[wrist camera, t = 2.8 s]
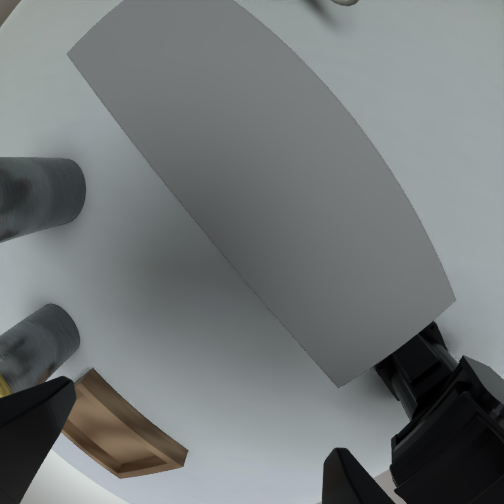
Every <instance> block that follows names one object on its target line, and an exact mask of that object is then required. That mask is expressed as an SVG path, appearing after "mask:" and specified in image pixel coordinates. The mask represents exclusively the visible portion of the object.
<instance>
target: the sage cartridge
mask: <svg viewBox="0 0 504 504" xmlns="http://www.w3.org/2000/svg"><path fill="white" fill-rule="evenodd" d="M85 193H86V187H85V179H84V176H83V173H82V171H81V169H80V167H79V166H78V165H77V164H76V163H75V162H74V161H72V160H70V159H64V158H36V157H0V243H2V242H5V241H8V240H11V239H14V238H17V237H20V236H24V235H27V234H30V233H34V232H37V231H41V230H44V229H48V228H51V227H55V226H58V225H62V224H66V223H69V222H71V221H73V220H74V219H75V218H76V217H77V216H78V214H79V213H80V211H81V209H82V207H83V204H84V200H85Z"/></svg>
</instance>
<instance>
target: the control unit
mask: <svg viewBox="0 0 504 504" xmlns="http://www.w3.org/2000/svg"><path fill="white" fill-rule="evenodd" d="M67 55H68V57H69V58H70V59H71V61H72V62H73V64H74V65H75V66H76V68H77V69H78V71H79V72H80V73H81V75H82V76H83V77H84V79H85V80H86V81H87V83H88V84H89V86H90V87H91V88H92V90H93V91H94V92H95V94H96V95H97V96H98V98H99V99H100V100H101V102H102V103H103V104H104V106H105V107H106V108H107V110H108V111H109V112H110V114H111V115H112V116H113V118H114V119H115V120H116V122H117V123H118V124H119V125H120V127H121V128H122V129H123V131H124V132H125V133H126V135H127V136H128V137H129V138H130V140H131V141H132V142H133V144H134V145H135V146H136V148H137V149H138V150H139V151H140V153H141V154H142V155H143V157H144V158H145V159H146V160H147V162H148V163H149V164H150V165H151V167H152V168H153V169H154V171H155V172H156V173H157V174H158V176H159V177H160V178H161V179H162V181H163V182H164V183H165V184H166V186H167V187H168V188H169V189H170V191H171V192H172V193H173V194H174V196H175V197H176V198H177V199H178V201H179V202H180V203H181V204H182V206H183V207H184V208H185V209H186V211H187V212H188V213H189V214H190V215H191V217H192V218H193V219H194V220H195V222H196V223H197V224H198V225H199V227H200V228H201V229H202V230H203V231H204V233H205V234H206V235H207V236H208V238H209V239H210V240H211V241H212V242H213V244H214V245H215V246H216V247H217V248H218V250H219V251H220V252H221V253H222V254H223V256H224V257H225V258H226V259H227V260H228V262H229V263H230V264H231V265H232V266H233V268H234V269H235V270H236V271H237V272H238V274H239V275H240V276H241V277H242V278H243V280H244V281H245V282H246V283H247V284H248V285H249V287H250V288H251V289H252V290H253V291H254V292H255V294H256V295H257V296H258V297H259V298H260V300H261V301H262V302H263V303H264V304H265V305H266V307H267V308H268V309H269V310H270V311H271V312H272V314H273V315H274V316H275V317H276V318H277V319H278V320H279V322H280V323H281V324H282V325H283V326H284V327H285V329H286V330H287V331H288V332H289V333H290V334H291V335H292V337H293V338H294V339H295V340H296V341H297V342H298V343H299V345H300V346H301V347H302V348H303V349H304V350H305V351H306V352H307V354H308V355H309V356H310V357H311V358H312V359H313V360H314V362H315V363H316V364H317V365H318V366H319V367H320V368H321V369H322V370H323V372H324V373H325V374H326V375H327V376H328V377H329V378H330V379H331V380H332V382H333V383H334V384H335V385H336V386H337V387H338V388H340V387H341V386H343V385H345V384H346V383H348V382H350V381H351V380H353V379H354V378H356V377H358V376H359V375H361V374H362V373H364V372H365V371H367V370H368V369H370V368H371V367H373V366H374V365H376V364H377V363H379V362H380V361H382V360H383V359H384V358H386V357H387V356H389V355H390V354H391V353H393V352H394V351H395V350H397V349H398V348H400V347H401V346H402V345H404V344H405V343H406V342H407V341H409V340H410V339H411V338H413V337H414V336H415V335H416V334H418V333H419V332H420V331H421V330H423V329H424V328H425V327H426V326H427V325H429V324H430V323H431V322H432V321H433V320H434V319H436V318H437V317H438V316H439V315H440V314H441V313H442V312H444V311H445V310H446V309H447V308H448V307H449V306H450V305H451V304H452V303H453V302H455V301H456V298H455V296H454V293H453V291H452V288H451V286H450V283H449V281H448V278H447V276H446V273H445V271H444V269H443V266H442V264H441V262H440V260H439V258H438V255H437V253H436V251H435V249H434V247H433V245H432V243H431V241H430V239H429V237H428V235H427V233H426V231H425V229H424V227H423V225H422V223H421V221H420V219H419V217H418V215H417V214H416V212H415V210H414V208H413V206H412V205H411V203H410V201H409V199H408V198H407V196H406V194H405V193H404V191H403V189H402V188H401V186H400V184H399V183H398V181H397V179H396V178H395V176H394V175H393V173H392V172H391V170H390V168H389V167H388V165H387V164H386V162H385V161H384V159H383V158H382V156H381V155H380V154H379V152H378V151H377V149H376V148H375V146H374V145H373V144H372V142H371V141H370V139H369V138H368V137H367V135H366V134H365V133H364V131H363V130H362V129H361V127H360V126H359V125H358V123H357V122H356V121H355V119H354V118H353V117H352V116H351V114H350V113H349V112H348V111H347V109H346V108H345V107H344V106H343V104H342V103H341V102H340V101H339V100H338V98H337V97H336V96H335V95H334V94H333V93H332V91H331V90H330V89H329V88H328V87H327V86H326V85H325V84H324V82H323V81H322V80H321V79H320V78H319V77H318V76H317V75H316V74H315V73H314V72H313V71H312V69H311V68H310V67H309V66H308V65H307V64H306V63H305V62H304V61H303V60H302V59H301V58H300V57H299V56H298V55H297V54H296V53H295V52H294V51H293V50H292V49H291V48H290V47H288V46H287V45H286V44H285V43H284V42H283V41H282V40H281V39H280V38H279V37H278V36H277V35H275V34H274V33H273V32H272V31H271V30H270V29H269V28H268V27H266V26H265V25H264V24H263V23H262V22H260V21H259V20H258V19H257V18H256V17H254V16H253V15H252V14H251V13H249V12H248V11H247V10H246V9H244V8H243V7H242V6H240V5H239V4H238V3H236V2H235V1H234V0H124V1H122V2H121V3H120V4H119V5H117V6H116V7H115V8H114V9H113V10H111V11H110V12H109V13H108V14H107V15H106V16H104V17H103V18H102V19H101V20H100V21H99V22H98V23H97V24H96V25H94V26H93V27H92V28H91V29H90V30H89V31H88V32H87V33H86V34H85V35H84V36H83V37H82V38H81V39H80V40H79V41H78V42H77V43H76V44H75V45H74V46H73V47H72V49H71V50H70V51H69V52H68V53H67Z"/></svg>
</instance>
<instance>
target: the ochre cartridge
mask: <svg viewBox="0 0 504 504" xmlns="http://www.w3.org/2000/svg"><path fill="white" fill-rule="evenodd" d="M79 344H80V337H79V333H78V330H77V327H76V325H75V323H74V321H73V320H72V318H71V317H70V316H69V315H68V313H67V312H66V311H65V310H63V309H62V308H61V307H59V306H57V305H55V304H47V305H45V306H44V307H42V308H40V309H39V310H37V311H36V312H34V313H33V314H31V315H30V316H28V317H27V318H25V319H24V320H22V321H21V322H19V323H18V324H16V325H15V326H13V327H12V328H11V329H9V330H8V331H6V332H5V333H3V334H2V335H1V336H0V398H1V397H4V396H7V395H10V394H13V393H16V392H19V391H22V390H24V389H27V388H30V387H33V386H36V385H39V384H41V383H44V382H45V381H46V380H47V379H48V378H49V377H50V376H51V375H52V374H53V373H54V372H55V371H56V370H57V369H58V368H59V367H60V366H61V365H62V364H63V363H64V362H65V361H66V360H67V359H68V358H69V357H70V356H71V355H72V354H73V353H74V352H75V351H76V350H77V349H78V347H79Z"/></svg>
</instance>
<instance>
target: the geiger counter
mask: <svg viewBox="0 0 504 504" xmlns="http://www.w3.org/2000/svg"><path fill="white" fill-rule="evenodd" d="M331 1H333V2H334V3H337V4H339V5H343V6H351V5H354V4H356V3H357V2H358V1H359V0H331Z"/></svg>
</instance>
